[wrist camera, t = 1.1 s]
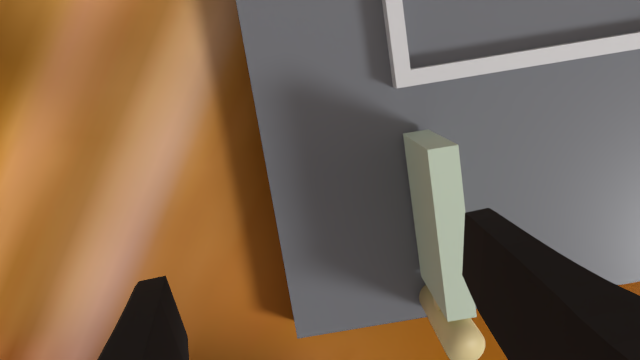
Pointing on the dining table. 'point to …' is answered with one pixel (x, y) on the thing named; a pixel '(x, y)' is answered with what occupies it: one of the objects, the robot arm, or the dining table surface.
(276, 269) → the dining table surface
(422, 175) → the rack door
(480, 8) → the console
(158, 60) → the dining table surface
